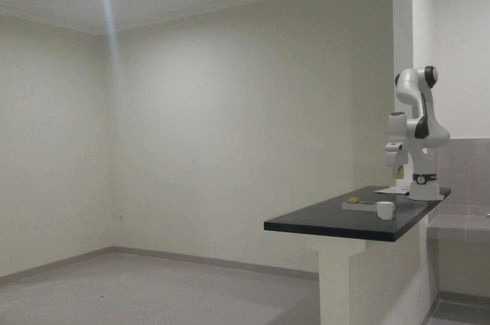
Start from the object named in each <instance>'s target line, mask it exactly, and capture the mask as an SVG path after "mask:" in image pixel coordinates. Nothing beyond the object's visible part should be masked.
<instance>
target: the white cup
mask: <svg viewBox="0 0 490 325" xmlns="http://www.w3.org/2000/svg"><path fill="white" fill-rule="evenodd" d="M376 203H377V211H378V212H377V216H378V220H381V221H382V220H383V221H391V220H392V219H393V217H394V216H393V212H394V211H393V204H395V203H394V202H392V201H377V202H376Z"/></svg>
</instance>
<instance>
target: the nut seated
mask: <svg viewBox="0 0 490 325" xmlns="http://www.w3.org/2000/svg"><path fill="white" fill-rule="evenodd" d="M347 201H348V203H354V204H358V203H359V201H360V197H356V196H355V197H353V196H351V197H348V198H347Z"/></svg>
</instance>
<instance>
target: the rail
mask: <svg viewBox="0 0 490 325" xmlns="http://www.w3.org/2000/svg"><path fill="white" fill-rule="evenodd" d="M341 210H349V211H350V210H351V211H352V210H354V211H363V212H374V213H376V212H377V213H378V211H377V202H374V201H373V202H372V201H360V200H359V203H358V204H354V203H348V200H347V201H344V202H341ZM396 210H397V209H396V203H394V204H393V213H395V212H396Z"/></svg>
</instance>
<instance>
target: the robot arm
mask: <svg viewBox="0 0 490 325" xmlns="http://www.w3.org/2000/svg"><path fill="white" fill-rule="evenodd" d="M438 80H439V74H438V71H437V68H436V67H435V66H433V65H426V66H422V67H416V68H405V69H404V70H402V71H401V72H400V73H398V74H396V77H395V78H394V85H395V96H396V98H397V100H398V101H399V102H400V103H402V104H403V105H404V104H405V105H408V106H411V118H408V119H407V113H406V112H403V111H396V112H392V113H390V114H389V115H388V118H387V120H388V121H387V135H388V138H387V144H386V145H385V146H384V151H386V152H385V161H386V162H385V163H386V166H387V168H392V173H393V172H394V176H398V175H399V172H398V168H404V165H408V164H409V155H410V156H411V159H412V169H413V172H412V181H411V182H410V183H409V195H407V196H406V199H409V200H415V201H423V202H424V201H428V202H429V201H433V202H434V201H443V200H444V198H445V195H444V194H441V189H440V187H441V186H440V185H439V183H438V181H437V176H438V175H437V172H436V160H435V158H434V157H433V156H431V155H430V154H427V153H425V152H424V151H423V149H437V148H439V149H440V148H443V147H446V146H447V145H448V144H450V140H451V134H450V132H449V131H448V129H446V128H445V127H443V126H442V125H441V124H440V123H439V122H438V121H437V119H436V116H435V110H434V107H435V106H434V97H433V92H432V89H433V88H434V86H435V85H436V83H437V82H438Z"/></svg>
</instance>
